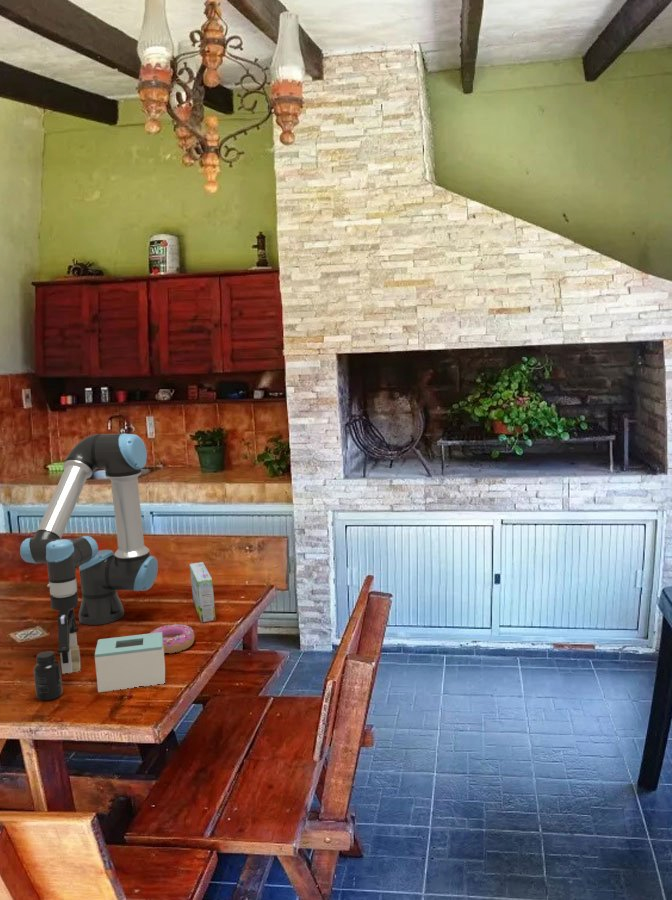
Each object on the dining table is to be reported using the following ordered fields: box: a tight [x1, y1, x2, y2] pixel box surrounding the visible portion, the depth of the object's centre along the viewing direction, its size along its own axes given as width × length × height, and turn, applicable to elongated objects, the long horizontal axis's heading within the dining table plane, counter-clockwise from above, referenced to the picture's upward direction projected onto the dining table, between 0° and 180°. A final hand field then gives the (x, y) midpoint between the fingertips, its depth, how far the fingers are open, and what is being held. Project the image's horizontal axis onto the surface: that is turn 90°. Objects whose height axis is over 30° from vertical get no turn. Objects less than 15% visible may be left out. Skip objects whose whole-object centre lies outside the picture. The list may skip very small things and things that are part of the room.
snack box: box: [189, 561, 217, 624], centre depth 272 cm, size 21×6×15 cm, turn 18°
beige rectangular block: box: [59, 645, 82, 673], centre depth 229 cm, size 3×5×7 cm, turn 102°
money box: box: [94, 632, 166, 693], centre depth 221 cm, size 11×18×11 cm, turn 102°
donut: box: [150, 623, 196, 655], centre depth 245 cm, size 14×14×5 cm
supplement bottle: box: [33, 650, 64, 702], centre depth 213 cm, size 7×7×12 cm
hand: (70, 663), depth 229 cm, fingers open, 13 cm apart
